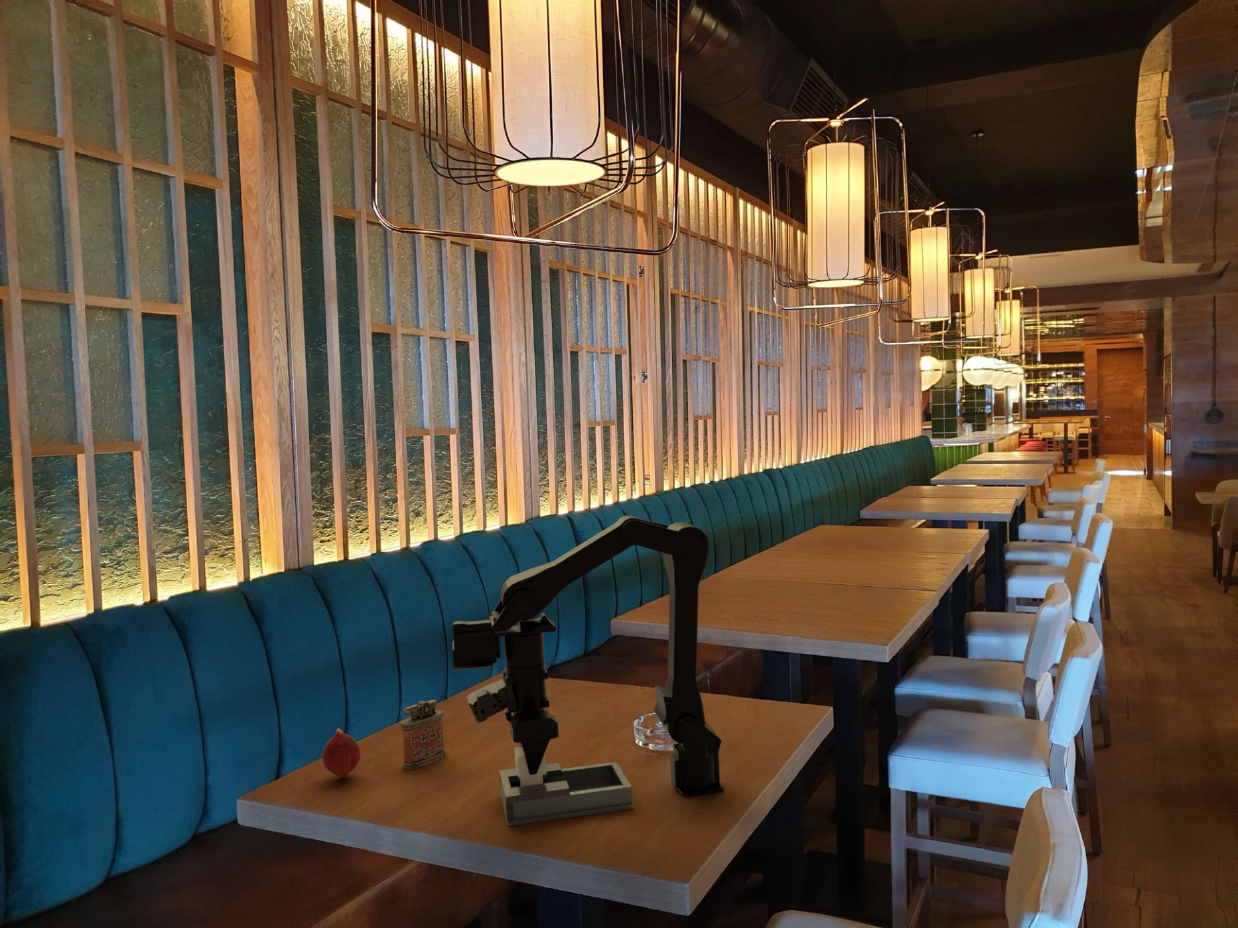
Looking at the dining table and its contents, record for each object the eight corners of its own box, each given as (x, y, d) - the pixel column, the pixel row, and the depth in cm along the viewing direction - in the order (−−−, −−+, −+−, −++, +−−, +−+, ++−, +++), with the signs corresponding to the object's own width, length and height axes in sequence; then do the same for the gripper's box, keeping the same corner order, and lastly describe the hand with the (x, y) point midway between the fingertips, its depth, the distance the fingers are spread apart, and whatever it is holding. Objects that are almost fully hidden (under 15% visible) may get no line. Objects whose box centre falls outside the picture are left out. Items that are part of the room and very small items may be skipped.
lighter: (437, 751, 159) (433, 694, 159) (449, 755, 157) (446, 697, 157) (398, 766, 153) (395, 707, 153) (411, 770, 151) (408, 710, 151)
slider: (549, 788, 139) (547, 741, 138) (555, 805, 133) (553, 755, 132) (509, 794, 137) (507, 746, 137) (514, 810, 132) (511, 760, 131)
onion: (368, 771, 151) (365, 723, 151) (348, 785, 146) (344, 736, 146) (338, 769, 153) (334, 721, 153) (316, 783, 148) (313, 733, 147)
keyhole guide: (616, 779, 143) (615, 754, 143) (633, 808, 133) (631, 780, 132) (500, 794, 140) (499, 769, 139) (507, 826, 129) (506, 798, 129)
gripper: (465, 653, 141) (471, 753, 142) (473, 687, 123) (479, 801, 124) (538, 645, 144) (543, 744, 145) (556, 678, 126) (562, 790, 126)
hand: (531, 768), depth 135 cm, fingers closed on slider, 4 cm apart
